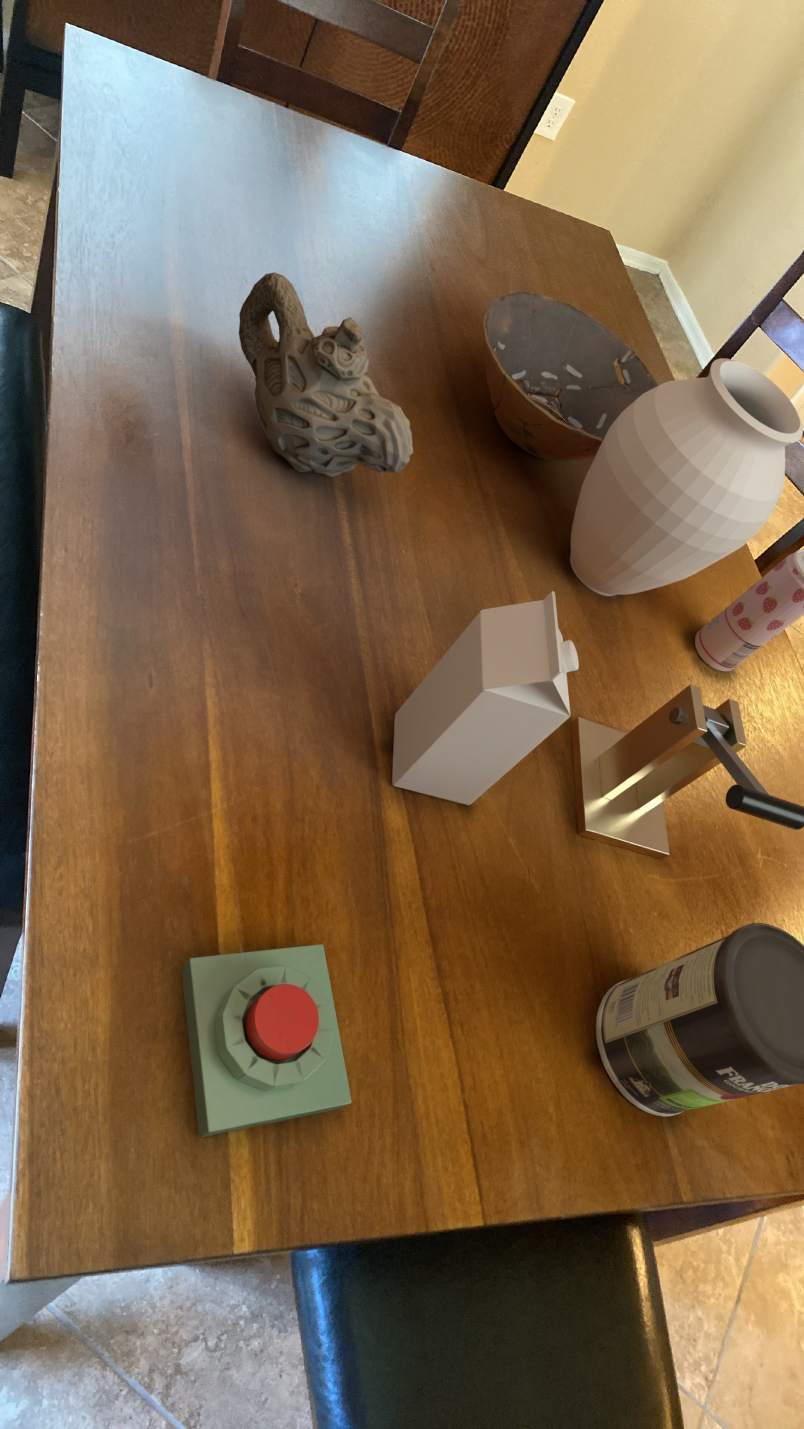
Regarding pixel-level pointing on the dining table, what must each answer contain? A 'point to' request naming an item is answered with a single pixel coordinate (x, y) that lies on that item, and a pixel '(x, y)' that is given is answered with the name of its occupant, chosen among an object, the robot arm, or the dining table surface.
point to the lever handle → (746, 780)
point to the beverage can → (755, 616)
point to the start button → (282, 1021)
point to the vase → (682, 479)
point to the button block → (226, 1062)
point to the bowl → (557, 375)
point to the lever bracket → (643, 770)
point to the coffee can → (708, 1024)
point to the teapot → (317, 389)
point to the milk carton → (485, 703)
